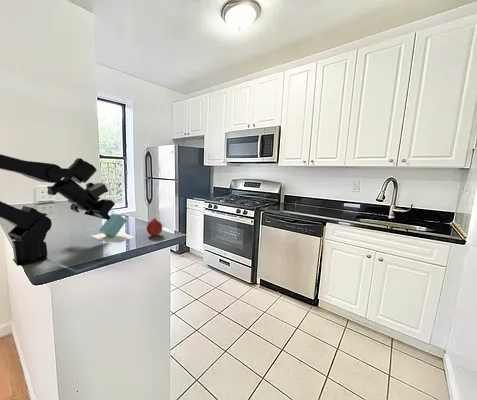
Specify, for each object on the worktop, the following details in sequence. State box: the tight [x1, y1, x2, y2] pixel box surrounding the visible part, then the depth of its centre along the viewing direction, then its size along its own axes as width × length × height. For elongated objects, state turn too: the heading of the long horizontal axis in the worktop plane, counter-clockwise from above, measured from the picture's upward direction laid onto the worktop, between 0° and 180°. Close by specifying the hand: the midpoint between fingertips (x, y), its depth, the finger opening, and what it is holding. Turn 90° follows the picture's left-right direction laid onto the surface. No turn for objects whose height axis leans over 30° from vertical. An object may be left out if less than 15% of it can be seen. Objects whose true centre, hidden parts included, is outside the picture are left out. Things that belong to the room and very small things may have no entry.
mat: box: [91, 230, 135, 245], centre depth 88 cm, size 10×15×1 cm, turn 53°
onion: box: [146, 217, 163, 237], centre depth 89 cm, size 6×6×8 cm
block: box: [98, 213, 127, 238], centre depth 88 cm, size 4×5×8 cm
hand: (109, 218), depth 86 cm, fingers closed
